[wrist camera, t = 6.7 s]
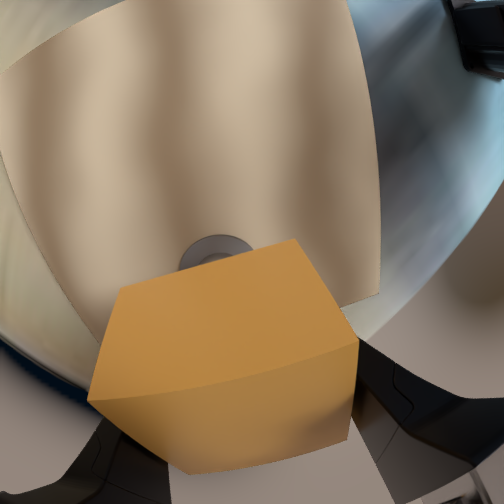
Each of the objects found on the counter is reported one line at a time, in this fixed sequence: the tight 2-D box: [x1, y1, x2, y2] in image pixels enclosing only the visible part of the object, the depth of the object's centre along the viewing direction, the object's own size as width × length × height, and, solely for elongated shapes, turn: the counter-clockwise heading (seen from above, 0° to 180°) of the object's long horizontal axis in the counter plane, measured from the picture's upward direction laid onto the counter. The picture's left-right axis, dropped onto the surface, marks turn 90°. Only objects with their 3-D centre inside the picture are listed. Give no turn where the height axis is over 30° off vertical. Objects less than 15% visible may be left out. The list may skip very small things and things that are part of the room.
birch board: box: [0, 0, 381, 345], centre depth 11 cm, size 18×19×5 cm
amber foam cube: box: [87, 239, 359, 475], centre depth 8 cm, size 6×6×4 cm
